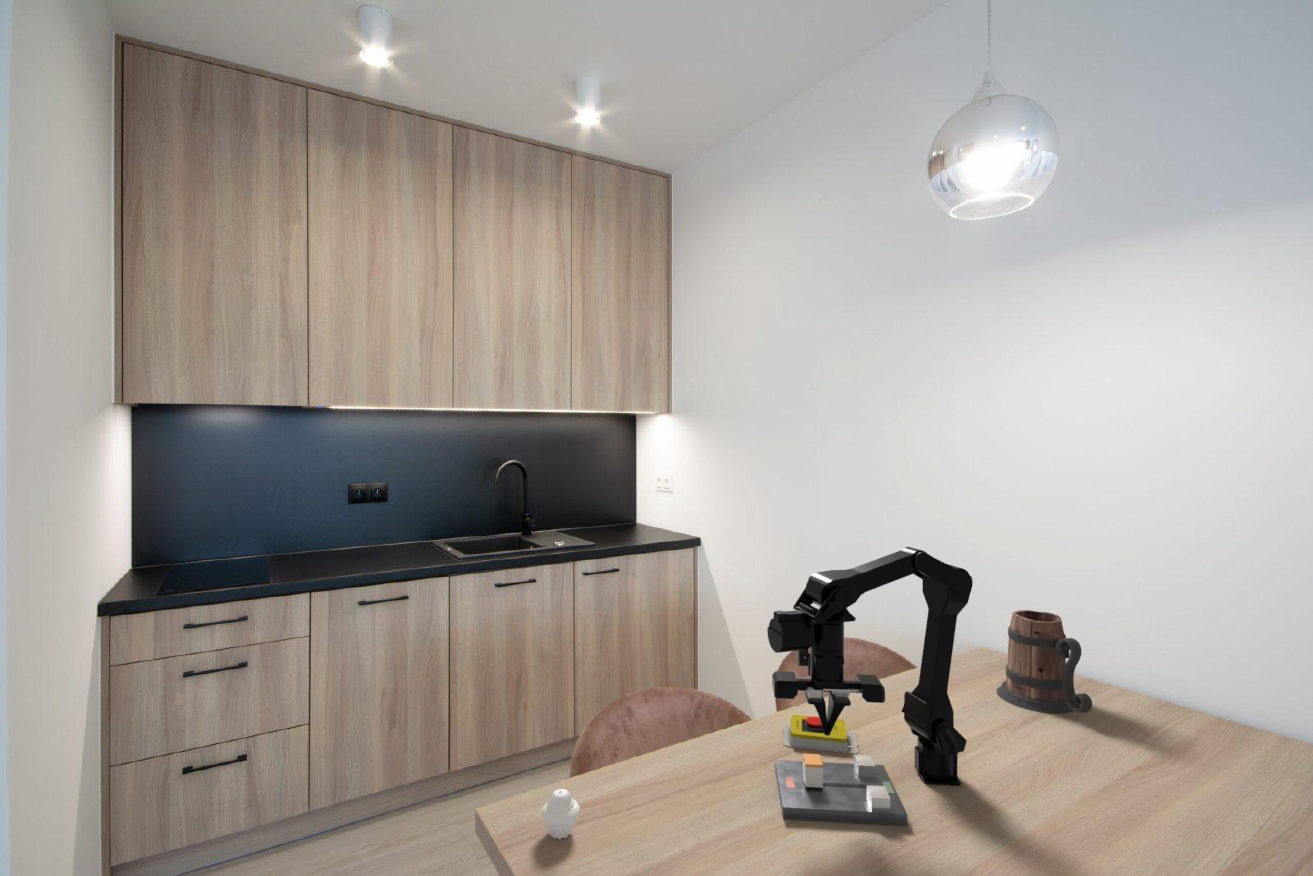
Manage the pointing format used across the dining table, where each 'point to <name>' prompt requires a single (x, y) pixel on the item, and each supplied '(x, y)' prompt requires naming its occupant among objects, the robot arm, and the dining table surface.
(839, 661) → the robot arm
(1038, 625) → the tankard
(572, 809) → the white rounded lump
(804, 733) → the emergency button
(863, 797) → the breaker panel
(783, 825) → the dining table surface
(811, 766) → the block
